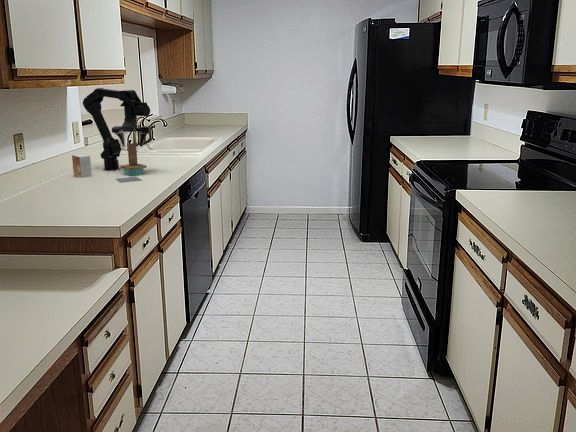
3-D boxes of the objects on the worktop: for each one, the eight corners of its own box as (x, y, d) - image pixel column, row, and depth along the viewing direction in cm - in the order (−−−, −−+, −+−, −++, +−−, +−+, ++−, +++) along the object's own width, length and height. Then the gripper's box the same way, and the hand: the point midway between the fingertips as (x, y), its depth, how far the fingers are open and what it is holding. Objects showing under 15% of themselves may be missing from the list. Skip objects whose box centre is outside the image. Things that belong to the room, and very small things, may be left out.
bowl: (121, 174, 276) (120, 167, 275) (136, 172, 283) (136, 165, 282) (131, 177, 270) (130, 170, 269) (146, 174, 277) (146, 167, 276)
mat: (115, 179, 265) (114, 178, 265) (136, 177, 270) (136, 176, 270) (120, 183, 256) (120, 182, 256) (142, 181, 261) (142, 180, 261)
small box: (73, 176, 273) (71, 155, 270) (84, 174, 277) (82, 153, 274) (81, 178, 267) (79, 156, 265) (92, 176, 271) (90, 155, 269)
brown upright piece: (120, 167, 275) (118, 143, 272) (136, 165, 282) (134, 142, 279) (130, 170, 269) (128, 145, 266) (146, 167, 276) (145, 143, 273)
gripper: (106, 117, 269) (109, 148, 273) (144, 117, 269) (146, 149, 273) (114, 115, 280) (116, 145, 284) (150, 115, 279) (152, 145, 284)
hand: (132, 146), depth 281 cm, fingers open, 9 cm apart
